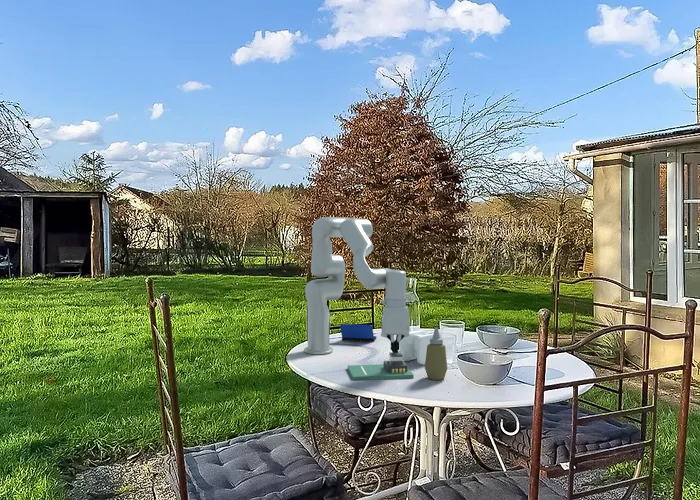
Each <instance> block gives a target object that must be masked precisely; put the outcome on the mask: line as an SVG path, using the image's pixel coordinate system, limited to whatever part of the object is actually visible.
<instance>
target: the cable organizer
mask: <svg viewBox="0 0 700 500" xmlns="http://www.w3.org/2000/svg"><path fill="white" fill-rule="evenodd" d="M433 334H434V332H433V333H428V334H427V332H426V331H425V330H415V331H410V332H409V336H408V337H404V338H403V339H402V340H401V341H400V342H399V352H400V353H401V354H402V360H403V361H404V362H410V360H411V361H412V360H416V363H418V364H419V365H421V366H425V361H426V352H427V345H429V344H431V343H430V338H433ZM439 336H440V338H442V339H443V334H442V333H440V332H439ZM416 358H417V359H416Z"/></svg>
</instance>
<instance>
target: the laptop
mask: <svg viewBox="0 0 700 500" xmlns="http://www.w3.org/2000/svg"><path fill="white" fill-rule="evenodd" d="M339 326H340V333H341V341H342V342H365V343H374V342H375V341H376V339H377V336H376V335H374V330H373V326H372V325H371V324H356V323H354V324H353V323H352V324H351V323H342V324H340V325H339Z"/></svg>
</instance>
